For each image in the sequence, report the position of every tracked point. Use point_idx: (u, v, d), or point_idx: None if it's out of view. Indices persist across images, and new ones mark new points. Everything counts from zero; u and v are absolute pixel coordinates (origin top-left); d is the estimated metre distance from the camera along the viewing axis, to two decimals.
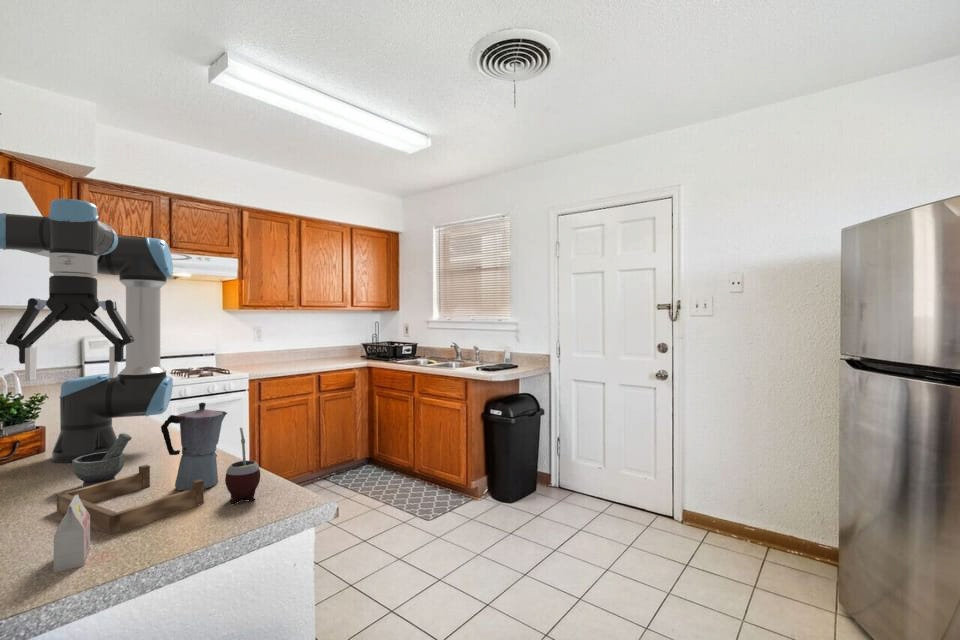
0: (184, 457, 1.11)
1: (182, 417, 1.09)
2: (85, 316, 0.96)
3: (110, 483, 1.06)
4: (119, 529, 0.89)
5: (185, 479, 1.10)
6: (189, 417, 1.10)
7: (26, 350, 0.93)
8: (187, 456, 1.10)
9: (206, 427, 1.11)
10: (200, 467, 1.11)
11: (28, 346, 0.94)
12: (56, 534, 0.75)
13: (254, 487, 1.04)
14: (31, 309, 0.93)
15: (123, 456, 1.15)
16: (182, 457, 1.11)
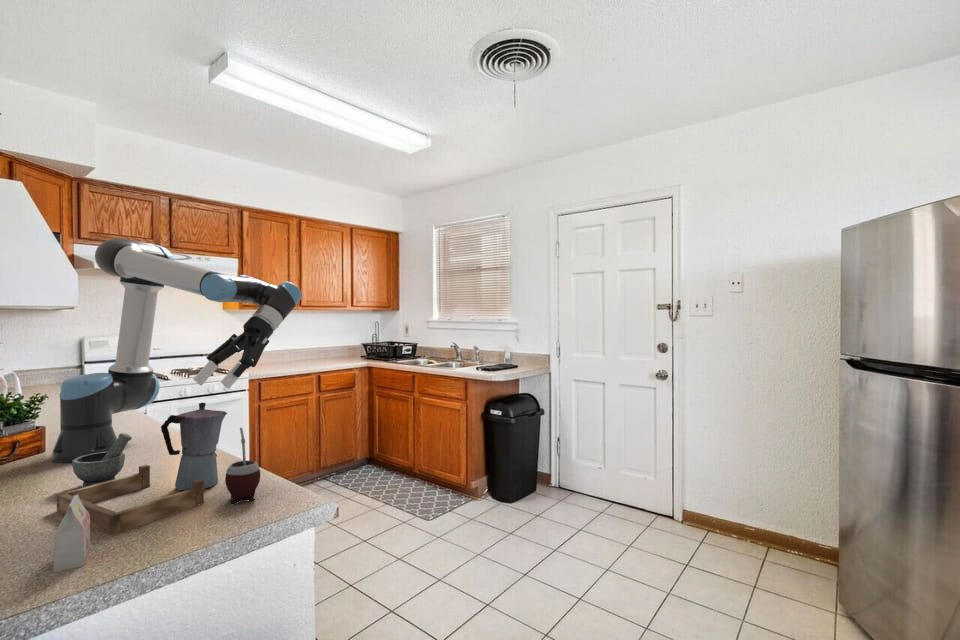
0: (184, 457, 1.11)
1: (182, 417, 1.09)
2: None
3: (110, 483, 1.06)
4: (119, 529, 0.89)
5: (185, 479, 1.10)
6: (189, 417, 1.10)
7: None
8: (187, 456, 1.10)
9: (206, 427, 1.11)
10: (200, 467, 1.11)
11: None
12: (56, 534, 0.75)
13: (254, 487, 1.04)
14: None
15: (123, 456, 1.15)
16: (182, 457, 1.11)
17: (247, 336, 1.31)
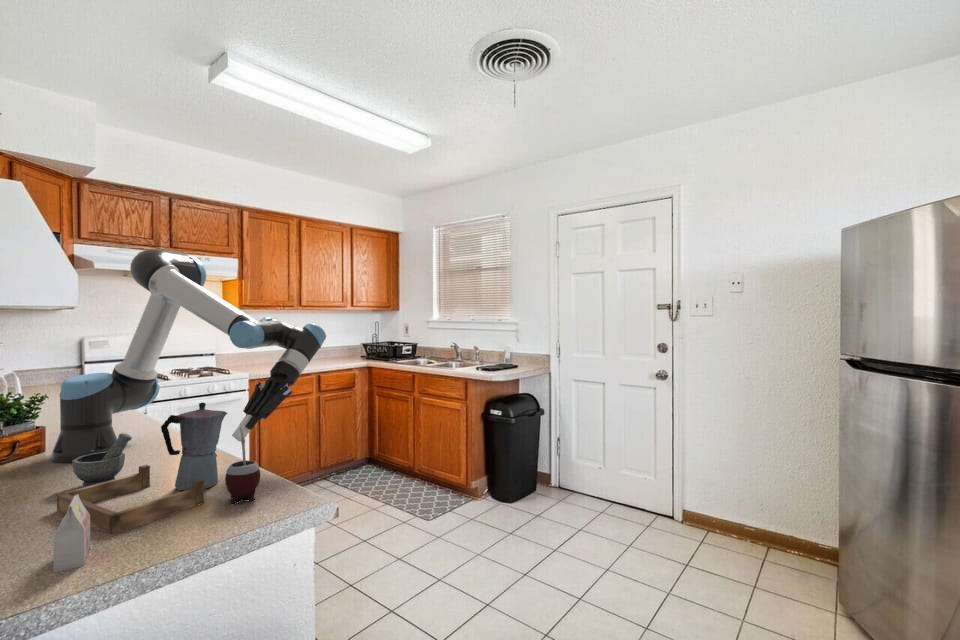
0: (184, 457, 1.11)
1: (182, 417, 1.09)
2: None
3: (110, 483, 1.06)
4: (119, 529, 0.89)
5: (185, 479, 1.10)
6: (189, 417, 1.10)
7: None
8: (187, 456, 1.10)
9: (206, 427, 1.11)
10: (200, 467, 1.11)
11: None
12: (56, 534, 0.75)
13: (254, 487, 1.04)
14: None
15: (123, 456, 1.15)
16: (182, 457, 1.11)
17: (274, 383, 1.31)
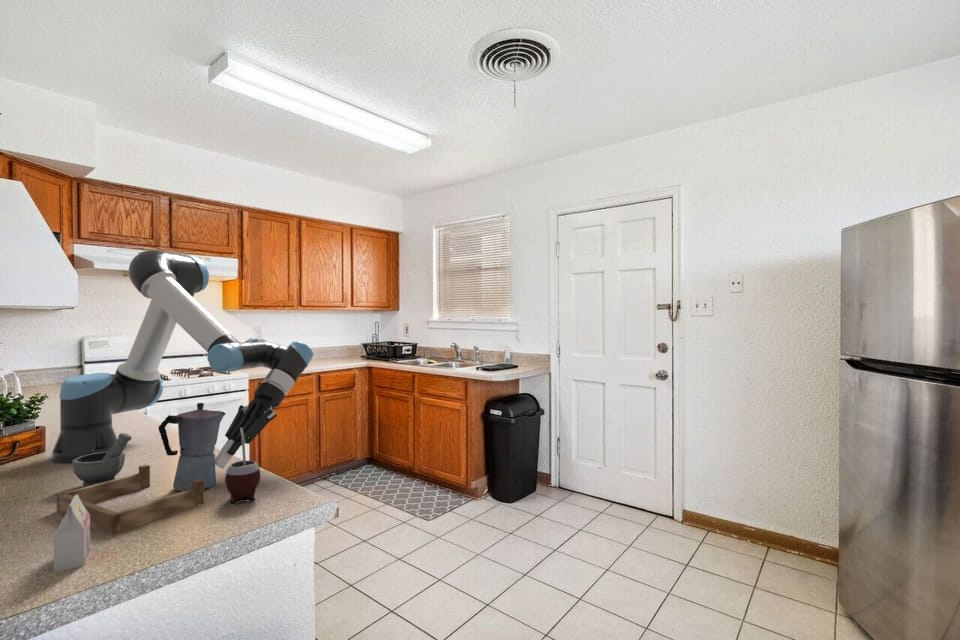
0: (181, 458, 1.10)
1: (180, 417, 1.09)
2: None
3: (110, 483, 1.06)
4: (119, 529, 0.89)
5: (183, 480, 1.09)
6: (187, 417, 1.09)
7: None
8: (185, 456, 1.10)
9: (204, 427, 1.11)
10: (198, 468, 1.10)
11: None
12: (56, 534, 0.75)
13: (254, 487, 1.04)
14: None
15: (123, 456, 1.15)
16: (180, 457, 1.11)
17: (258, 405, 1.26)
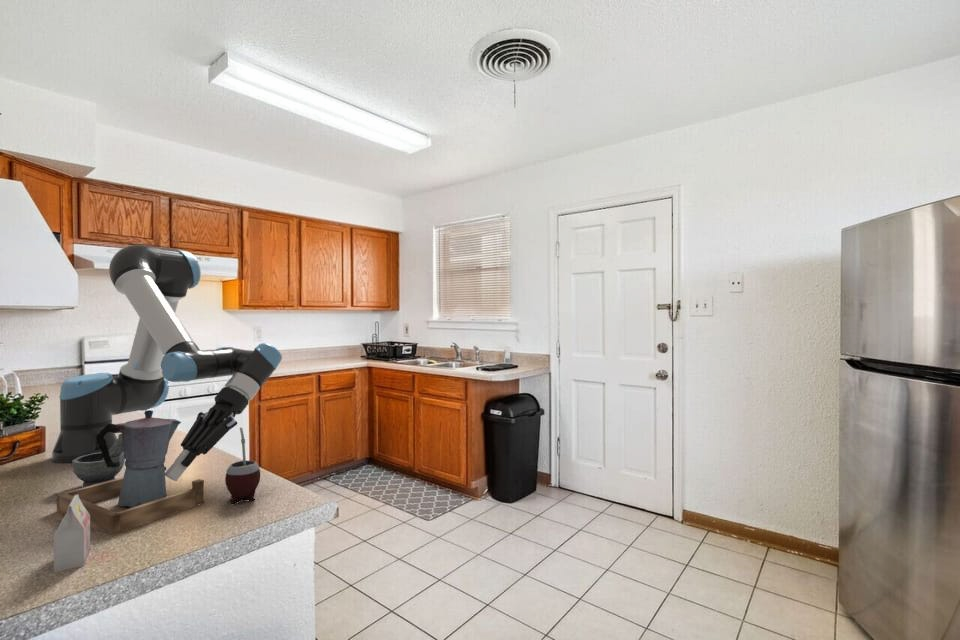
0: (125, 470, 1.01)
1: (121, 426, 1.00)
2: None
3: (110, 483, 1.06)
4: (119, 529, 0.89)
5: (124, 494, 1.00)
6: (128, 426, 1.00)
7: None
8: (128, 468, 1.01)
9: (146, 438, 1.01)
10: (140, 482, 1.01)
11: None
12: (56, 534, 0.75)
13: (254, 487, 1.04)
14: None
15: (123, 456, 1.15)
16: None
17: (217, 412, 1.16)
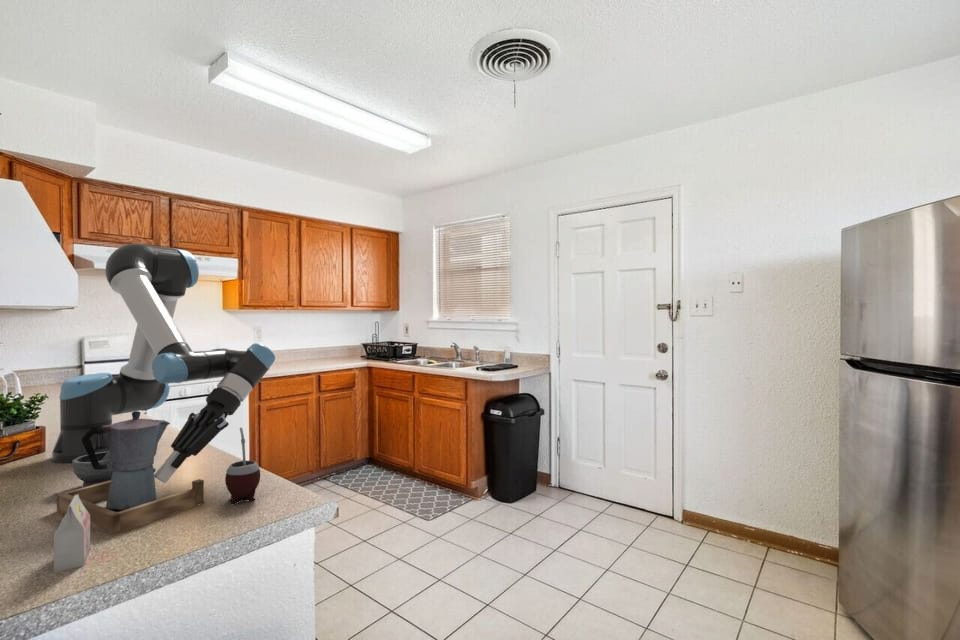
0: (113, 472, 1.00)
1: (107, 428, 0.98)
2: None
3: (110, 483, 1.06)
4: (119, 529, 0.89)
5: (112, 497, 0.99)
6: (114, 428, 0.98)
7: None
8: (115, 471, 0.99)
9: (133, 440, 0.99)
10: (128, 484, 0.99)
11: None
12: (56, 534, 0.75)
13: (254, 487, 1.04)
14: None
15: None
16: (113, 471, 1.01)
17: (208, 413, 1.15)
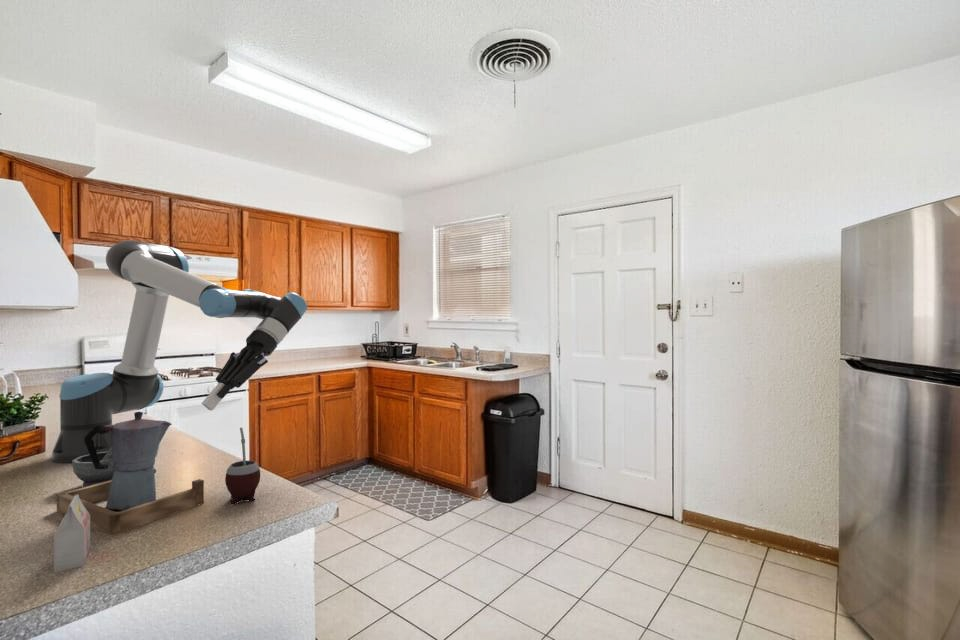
0: (114, 472, 1.00)
1: (110, 428, 0.99)
2: None
3: (110, 483, 1.06)
4: (119, 529, 0.89)
5: (112, 497, 0.99)
6: (117, 428, 0.99)
7: None
8: (116, 470, 1.00)
9: (135, 440, 0.99)
10: (128, 484, 0.99)
11: None
12: (56, 534, 0.75)
13: (254, 487, 1.04)
14: None
15: None
16: (114, 471, 1.01)
17: (249, 351, 1.25)
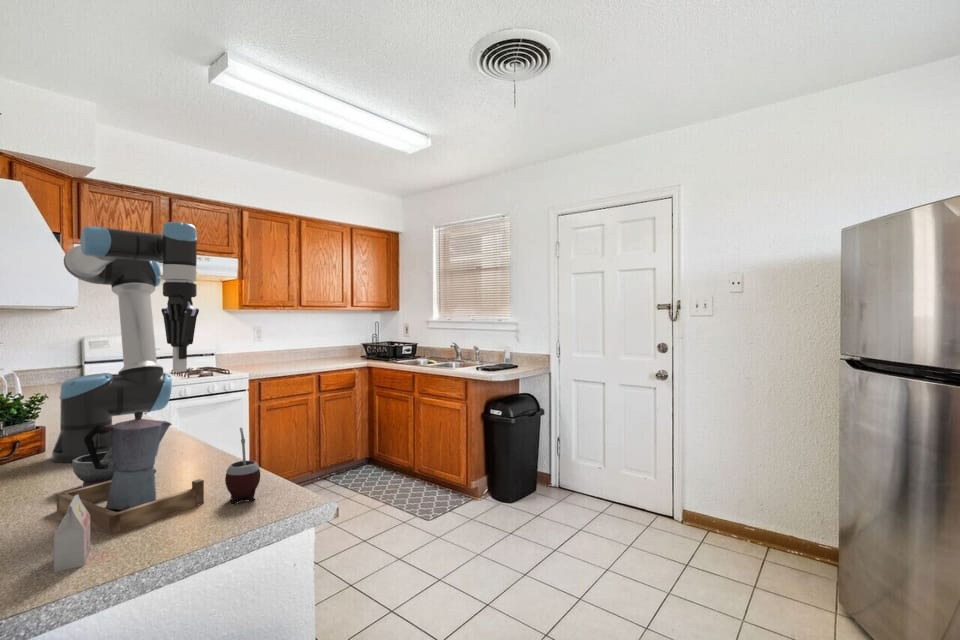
0: (114, 472, 1.00)
1: (110, 428, 0.99)
2: None
3: (110, 483, 1.06)
4: (119, 529, 0.89)
5: (112, 497, 0.99)
6: (117, 428, 0.99)
7: None
8: (116, 470, 1.00)
9: (135, 440, 0.99)
10: (128, 484, 0.99)
11: None
12: (56, 534, 0.75)
13: (254, 487, 1.04)
14: None
15: None
16: (114, 471, 1.01)
17: (175, 307, 1.21)
